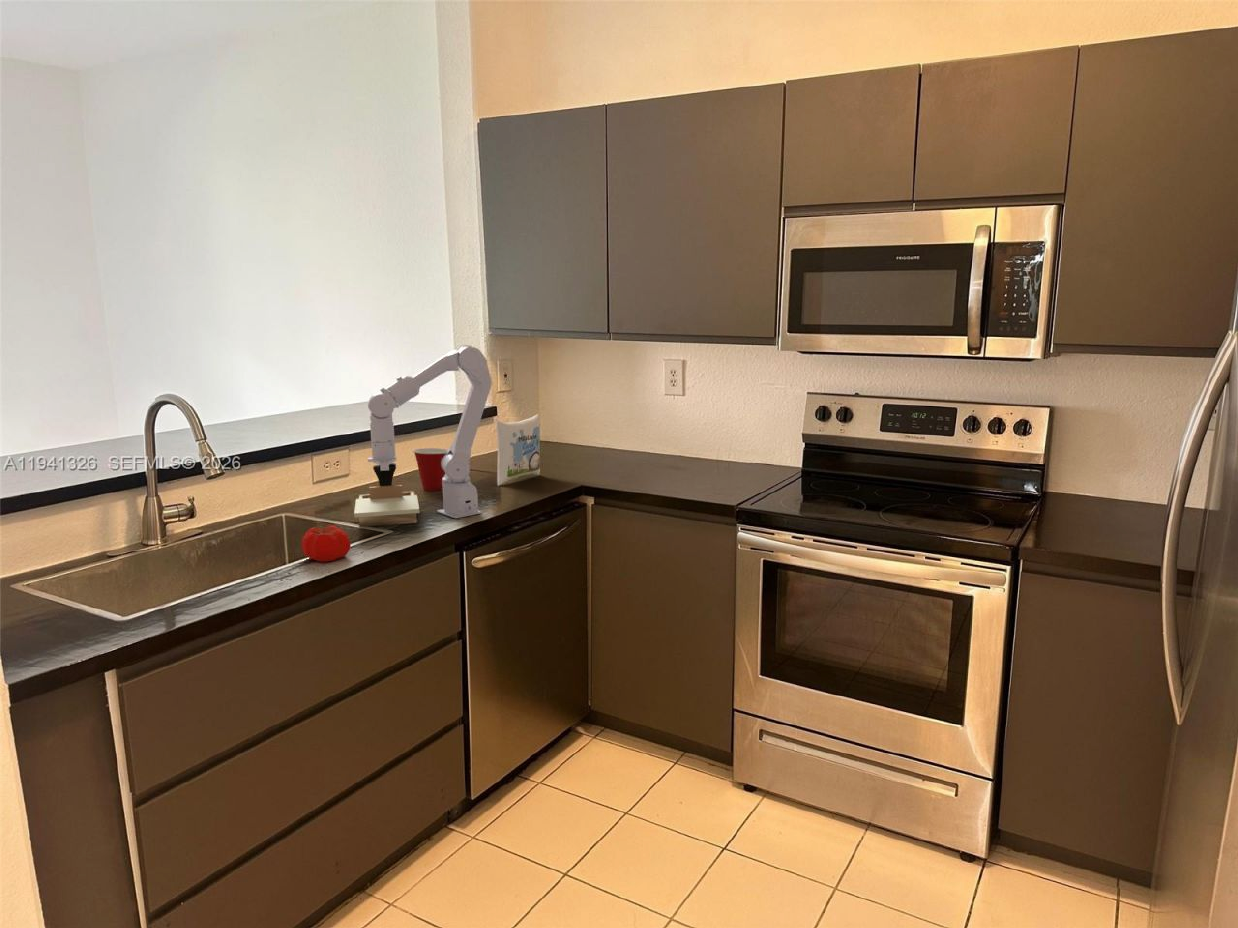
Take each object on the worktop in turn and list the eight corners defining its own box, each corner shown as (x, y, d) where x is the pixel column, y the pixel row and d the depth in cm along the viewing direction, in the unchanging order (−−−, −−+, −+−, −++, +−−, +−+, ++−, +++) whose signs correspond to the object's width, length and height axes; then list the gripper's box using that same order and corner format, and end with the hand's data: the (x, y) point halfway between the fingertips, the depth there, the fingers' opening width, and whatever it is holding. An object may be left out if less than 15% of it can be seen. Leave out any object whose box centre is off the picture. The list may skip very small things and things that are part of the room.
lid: (356, 502, 217) (355, 487, 217) (416, 498, 221) (416, 483, 220) (354, 517, 203) (353, 501, 202) (419, 512, 207) (418, 496, 206)
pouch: (488, 484, 262) (485, 419, 258) (532, 474, 276) (531, 412, 272) (506, 488, 257) (504, 421, 253) (550, 477, 271) (549, 414, 267)
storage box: (360, 513, 228) (359, 494, 227) (414, 509, 232) (413, 491, 231) (359, 526, 215) (357, 507, 214) (416, 522, 219) (415, 503, 218)
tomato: (339, 548, 198) (337, 520, 196) (356, 559, 189) (354, 530, 188) (296, 556, 192) (294, 527, 191) (311, 568, 183) (309, 538, 182)
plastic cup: (459, 486, 258) (457, 447, 256) (434, 494, 249) (432, 453, 247) (432, 483, 264) (430, 444, 262) (407, 490, 255) (404, 450, 252)
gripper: (366, 437, 224) (370, 487, 227) (366, 446, 211) (370, 500, 213) (394, 435, 226) (397, 485, 229) (396, 444, 213) (399, 498, 215)
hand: (386, 492), depth 221 cm, fingers closed
